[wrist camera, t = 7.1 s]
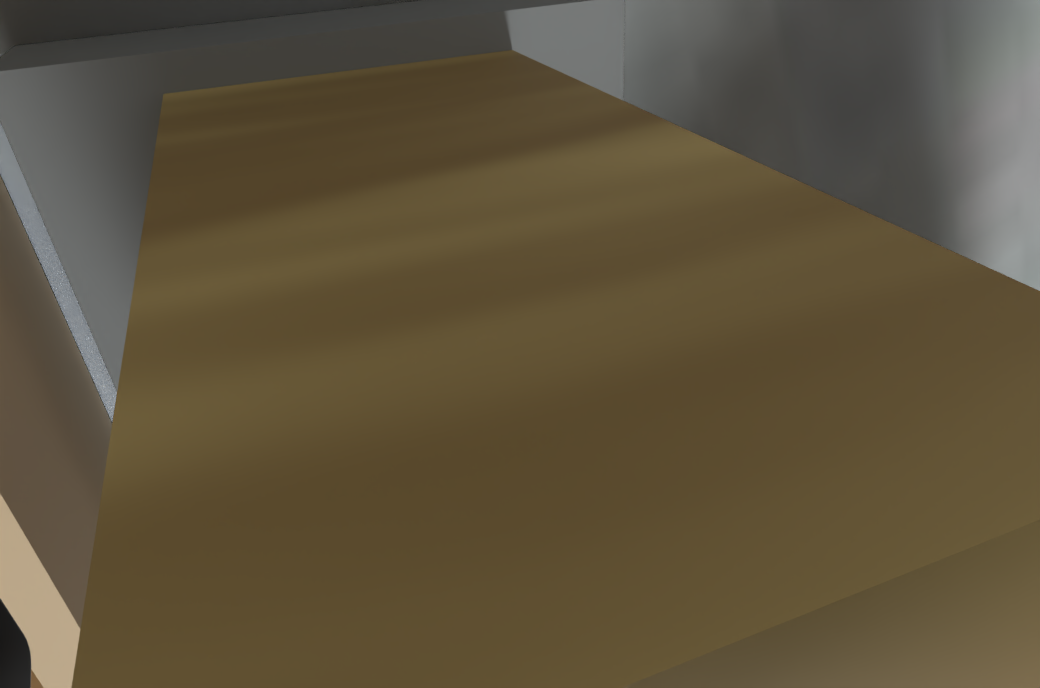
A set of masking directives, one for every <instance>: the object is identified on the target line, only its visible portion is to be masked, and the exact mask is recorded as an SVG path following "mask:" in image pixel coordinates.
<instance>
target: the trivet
mask: <svg viewBox="0 0 1040 688" xmlns="http://www.w3.org/2000/svg"><path fill="white" fill-rule="evenodd" d="M624 30H625V0H419V1H410V2H401V3H393V4H384V5H375V6H366V7H357V8H348V9H339V10H330V11H321V12H312V13H303V14H294V15H285V16H276V17H267V18H259V19H250V20H241V21H232V22H223V23H214V24H205V25H196V26H187V27H178V28H169V29H160V30H151V31H142V32H133V33H125V34H116V35H107V36H98V37H89V38H80V39H71V40H62V41H53V42H44V43H35V44H26V45H17V46H14V47H13V48H11V49H10V50H9V51H8V52H6V53H5V54H4V55H3V56H1V57H0V122H1V124H2V127H3V129H4V131H5V134H6V136H7V138H8V141H9V143H10V145H11V148H12V150H13V152H14V155H15V157H16V159H17V162H18V164H19V166H20V168H21V171H22V173H23V175H24V178H25V180H26V182H27V185H28V187H29V189H30V192H31V194H32V196H33V199H34V201H35V203H36V205H37V208H38V210H39V212H40V215H41V217H42V219H43V222H44V224H45V226H46V229H47V231H48V233H49V236H50V238H51V240H52V243H53V245H54V247H55V249H56V252H57V254H58V256H59V259H60V261H61V263H62V266H63V268H64V270H65V273H66V275H67V277H68V280H69V282H70V284H71V286H72V289H73V291H74V293H75V296H76V298H77V300H78V303H79V305H80V307H81V310H82V312H83V314H84V317H85V319H86V321H87V324H88V326H89V328H90V330H91V333H92V335H93V337H94V340H95V342H96V344H97V347H98V349H99V351H100V354H101V356H102V358H103V361H104V363H105V365H106V367H107V370H108V372H109V374H110V377H111V379H112V381H113V384H114V386H115V388H116V391H117V390H118V384H119V377H120V371H121V364H122V358H123V352H124V345H125V339H126V332H127V326H128V319H129V313H130V306H131V300H132V294H133V287H134V281H135V274H136V268H137V261H138V255H139V248H140V242H141V235H142V229H143V223H144V216H145V210H146V203H147V197H148V190H149V184H150V177H151V171H152V165H153V158H154V152H155V145H156V139H157V132H158V126H159V119H160V113H161V106H162V100H163V94H167V93H175V92H183V91H191V90H199V89H207V88H215V87H223V86H231V85H238V84H246V83H254V82H262V81H270V80H278V79H286V78H294V77H302V76H310V75H318V74H326V73H334V72H342V71H349V70H357V69H365V68H373V67H381V66H389V65H397V64H405V63H413V62H421V61H429V60H437V59H445V58H453V57H460V56H468V55H476V54H484V53H492V52H500V51H508V50H514V51H516V52H518V53H520V54H522V55H524V56H527V57H529V58H531V59H533V60H535V61H538V62H540V63H542V64H544V65H546V66H549V67H551V68H553V69H555V70H557V71H559V72H562V73H564V74H566V75H568V76H570V77H573V78H575V79H577V80H579V81H581V82H583V83H586V84H588V85H590V86H592V87H594V88H597V89H599V90H601V91H603V92H605V93H608V94H610V95H612V96H614V97H616V98H618V99H621V100H623V91H624Z"/></svg>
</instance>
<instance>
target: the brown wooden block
mask: <svg viewBox="0 0 1040 688" xmlns="http://www.w3.org/2000/svg"><path fill="white" fill-rule="evenodd" d="M71 688H1040V291H1038V290H1036V289H1034V288H1032V287H1029V286H1027V285H1025V284H1023V283H1021V282H1018V281H1016V280H1014V279H1012V278H1010V277H1007V276H1005V275H1003V274H1001V273H999V272H997V271H994V270H992V269H990V268H988V267H986V266H983V265H981V264H979V263H977V262H975V261H973V260H970V259H968V258H966V257H964V256H962V255H959V254H957V253H955V252H953V251H951V250H948V249H946V248H944V247H942V246H940V245H938V244H935V243H933V242H931V241H929V240H927V239H924V238H922V237H920V236H918V235H916V234H913V233H911V232H909V231H907V230H905V229H903V228H900V227H898V226H896V225H894V224H892V223H889V222H887V221H885V220H883V219H881V218H879V217H876V216H874V215H872V214H870V213H868V212H865V211H863V210H861V209H859V208H857V207H854V206H852V205H850V204H848V203H846V202H844V201H841V200H839V199H837V198H835V197H833V196H830V195H828V194H826V193H824V192H822V191H820V190H817V189H815V188H813V187H811V186H809V185H806V184H804V183H802V182H800V181H798V180H795V179H793V178H791V177H789V176H787V175H785V174H782V173H780V172H778V171H776V170H774V169H771V168H769V167H767V166H765V165H763V164H761V163H758V162H756V161H754V160H752V159H750V158H747V157H745V156H743V155H741V154H739V153H736V152H734V151H732V150H730V149H728V148H726V147H723V146H721V145H719V144H717V143H715V142H712V141H710V140H708V139H706V138H704V137H701V136H699V135H697V134H695V133H693V132H691V131H688V130H686V129H684V128H682V127H680V126H677V125H675V124H673V123H671V122H669V121H667V120H664V119H662V118H660V117H658V116H656V115H653V114H651V113H649V112H647V111H645V110H642V109H640V108H638V107H636V106H634V105H632V104H629V103H627V102H625V101H623V100H621V99H618V98H616V97H614V96H612V95H610V94H608V93H605V92H603V91H601V90H599V89H597V88H594V87H592V86H590V85H588V84H586V83H583V82H581V81H579V80H577V79H575V78H573V77H570V76H568V75H566V74H564V73H562V72H559V71H557V70H555V69H553V68H551V67H549V66H546V65H544V64H542V63H540V62H538V61H535V60H533V59H531V58H529V57H527V56H524V55H522V54H520V53H518V52H516V51H514V50H508V51H500V52H492V53H484V54H476V55H468V56H460V57H453V58H445V59H437V60H429V61H421V62H413V63H405V64H397V65H389V66H381V67H373V68H365V69H357V70H349V71H342V72H334V73H326V74H318V75H310V76H302V77H294V78H286V79H278V80H270V81H262V82H254V83H246V84H238V85H231V86H223V87H215V88H207V89H199V90H191V91H183V92H175V93H167V94H163V100H162V106H161V113H160V119H159V126H158V132H157V139H156V145H155V152H154V158H153V165H152V171H151V177H150V184H149V190H148V197H147V203H146V210H145V216H144V223H143V229H142V235H141V242H140V248H139V255H138V261H137V268H136V274H135V281H134V287H133V294H132V300H131V306H130V313H129V319H128V326H127V332H126V339H125V345H124V352H123V358H122V364H121V371H120V377H119V384H118V390H117V397H116V403H115V410H114V416H113V423H112V429H111V435H110V442H109V448H108V455H107V461H106V468H105V474H104V481H103V487H102V494H101V500H100V506H99V513H98V519H97V526H96V532H95V539H94V545H93V552H92V558H91V564H90V571H89V577H88V584H87V590H86V597H85V603H84V610H83V616H82V623H81V629H80V635H79V642H78V648H77V655H76V661H75V668H74V674H73V681H72V687H71Z"/></svg>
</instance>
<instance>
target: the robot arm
mask: <svg viewBox="0 0 1040 688" xmlns="http://www.w3.org/2000/svg"><path fill="white" fill-rule="evenodd" d="M0 688H31V653H30V648H29V645H28V642H27V639H26V637H25V635H24V634H23V632H22V631H21V629H20V628H19V626H18V625H17V623H16V621H15V620H14V618H13V617H12V615H11V614H10V612H9V611H8V609H7V608H6V606H5V605H4V603H3V602H2V600H1V599H0Z"/></svg>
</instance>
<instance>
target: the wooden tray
mask: <svg viewBox="0 0 1040 688" xmlns="http://www.w3.org/2000/svg"><path fill="white" fill-rule="evenodd" d="M111 429H112V423H111V421H110V418H109V416H108V414H107V412H106V409H105V407H104V405H103V403H102V401H101V398H100V396H99V394H98V392H97V389H96V387H95V385H94V383H93V381H92V378H91V376H90V374H89V372H88V369H87V367H86V365H85V363H84V361H83V358H82V356H81V354H80V352H79V349H78V347H77V345H76V343H75V340H74V338H73V336H72V334H71V332H70V329H69V327H68V325H67V323H66V320H65V318H64V316H63V314H62V312H61V309H60V307H59V305H58V303H57V300H56V298H55V296H54V294H53V292H52V289H51V287H50V285H49V283H48V280H47V278H46V276H45V274H44V272H43V269H42V267H41V265H40V263H39V260H38V258H37V256H36V254H35V252H34V249H33V247H32V245H31V243H30V240H29V238H28V236H27V234H26V231H25V229H24V227H23V225H22V223H21V220H20V218H19V216H18V214H17V211H16V209H15V207H14V205H13V203H12V200H11V198H10V196H9V194H8V191H7V189H6V187H5V185H4V183H3V180H2V178H1V176H0V599H1V600H2V602H3V603H4V605H5V606H6V608H7V609H8V611H9V612H10V614H11V615H12V617H13V618H14V620H15V621H16V623H17V625H18V626H19V628H20V629H21V631H22V632H23V634H24V635H25V637H26V639H27V642H28V645H29V648H30V653H31V688H71V687H72V681H73V674H74V668H75V661H76V655H77V648H78V642H79V635H80V629H81V623H82V616H83V610H84V603H85V597H86V590H87V584H88V577H89V571H90V564H91V558H92V552H93V545H94V539H95V532H96V526H97V519H98V513H99V506H100V500H101V494H102V487H103V481H104V474H105V468H106V461H107V455H108V448H109V442H110V435H111Z"/></svg>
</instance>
